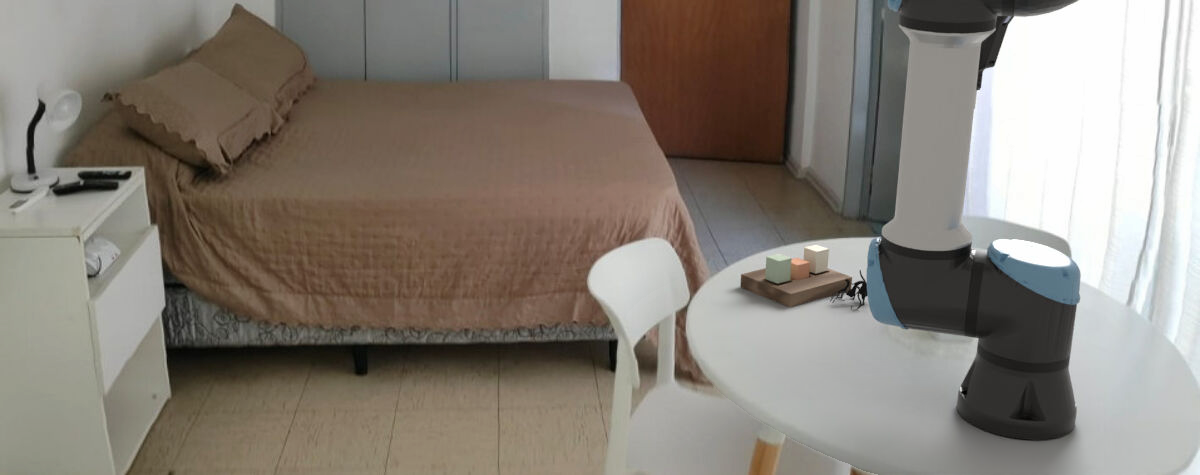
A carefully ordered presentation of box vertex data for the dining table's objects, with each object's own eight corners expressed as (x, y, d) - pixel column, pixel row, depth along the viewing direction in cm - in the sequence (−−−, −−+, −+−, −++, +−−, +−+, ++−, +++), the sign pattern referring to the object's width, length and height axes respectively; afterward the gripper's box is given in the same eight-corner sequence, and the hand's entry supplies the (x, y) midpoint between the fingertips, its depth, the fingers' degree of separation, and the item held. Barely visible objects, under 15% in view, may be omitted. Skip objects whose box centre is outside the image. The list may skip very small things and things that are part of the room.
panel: (851, 290, 206) (852, 277, 206) (789, 307, 198) (790, 293, 197) (800, 271, 215) (801, 259, 215) (740, 287, 207) (741, 274, 206)
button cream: (827, 270, 208) (829, 248, 207) (815, 273, 206) (817, 251, 205) (814, 266, 210) (816, 244, 209) (802, 269, 209) (804, 247, 208)
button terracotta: (808, 284, 206) (809, 262, 205) (796, 287, 204) (797, 265, 203) (795, 279, 208) (797, 257, 207) (783, 282, 207) (785, 260, 205)
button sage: (790, 280, 203) (791, 258, 202) (777, 283, 201) (779, 261, 200) (777, 275, 205) (779, 253, 204) (765, 278, 203) (766, 256, 202)
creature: (844, 319, 196) (886, 305, 198) (840, 290, 194) (882, 276, 196) (820, 304, 203) (861, 289, 205) (816, 275, 201) (857, 261, 203)
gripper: (1031, -36, 186) (1013, 113, 193) (962, -41, 196) (948, 100, 203) (1002, -34, 182) (985, 118, 189) (933, -40, 192) (919, 104, 199)
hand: (966, 108), depth 196 cm, fingers closed
